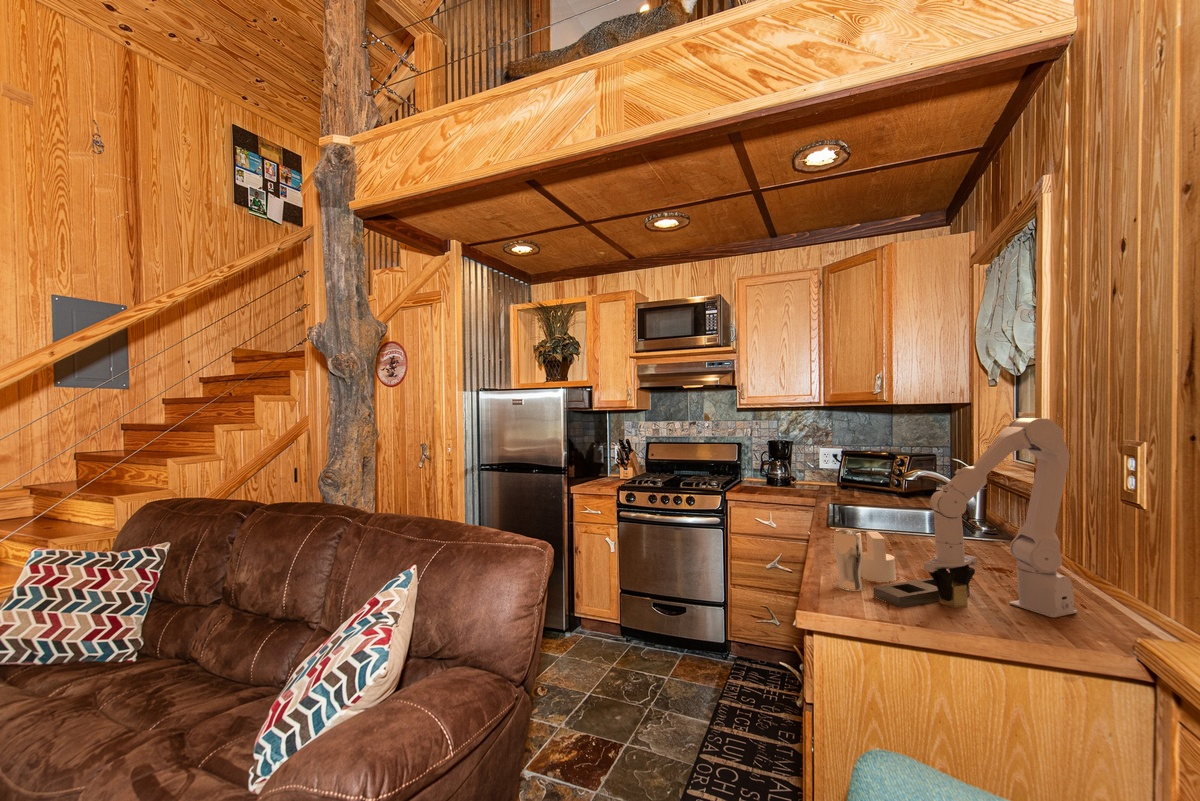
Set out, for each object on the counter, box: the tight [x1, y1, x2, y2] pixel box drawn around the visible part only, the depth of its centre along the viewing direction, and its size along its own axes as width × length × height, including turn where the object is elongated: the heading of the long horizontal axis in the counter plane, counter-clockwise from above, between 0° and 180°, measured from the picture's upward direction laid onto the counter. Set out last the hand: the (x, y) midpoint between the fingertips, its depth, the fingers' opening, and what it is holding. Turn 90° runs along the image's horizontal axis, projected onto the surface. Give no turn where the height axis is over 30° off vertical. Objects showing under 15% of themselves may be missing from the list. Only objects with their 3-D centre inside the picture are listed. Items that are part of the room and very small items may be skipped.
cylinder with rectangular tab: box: [861, 530, 897, 583], centre depth 148 cm, size 9×9×12 cm
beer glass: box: [833, 528, 864, 591], centre depth 140 cm, size 7×7×15 cm
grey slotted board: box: [872, 577, 971, 609], centre depth 132 cm, size 22×8×2 cm, turn 107°
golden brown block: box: [938, 581, 969, 609], centre depth 126 cm, size 4×4×5 cm
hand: (953, 598), depth 126 cm, fingers closed on golden brown block, 4 cm apart
